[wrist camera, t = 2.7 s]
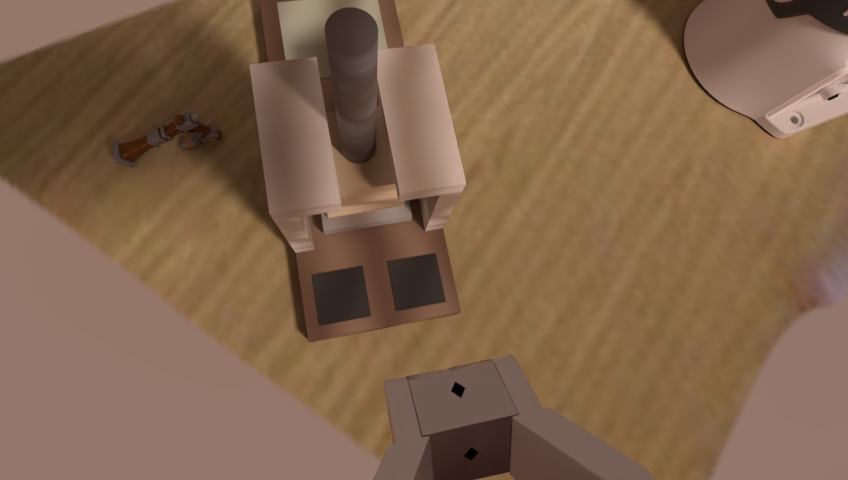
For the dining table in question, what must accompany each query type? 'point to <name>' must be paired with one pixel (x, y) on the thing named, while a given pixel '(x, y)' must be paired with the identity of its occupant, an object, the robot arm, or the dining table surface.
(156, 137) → the toy flintlock pistol
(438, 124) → the tunnel track
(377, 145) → the rod on wooden block
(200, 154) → the dining table surface
